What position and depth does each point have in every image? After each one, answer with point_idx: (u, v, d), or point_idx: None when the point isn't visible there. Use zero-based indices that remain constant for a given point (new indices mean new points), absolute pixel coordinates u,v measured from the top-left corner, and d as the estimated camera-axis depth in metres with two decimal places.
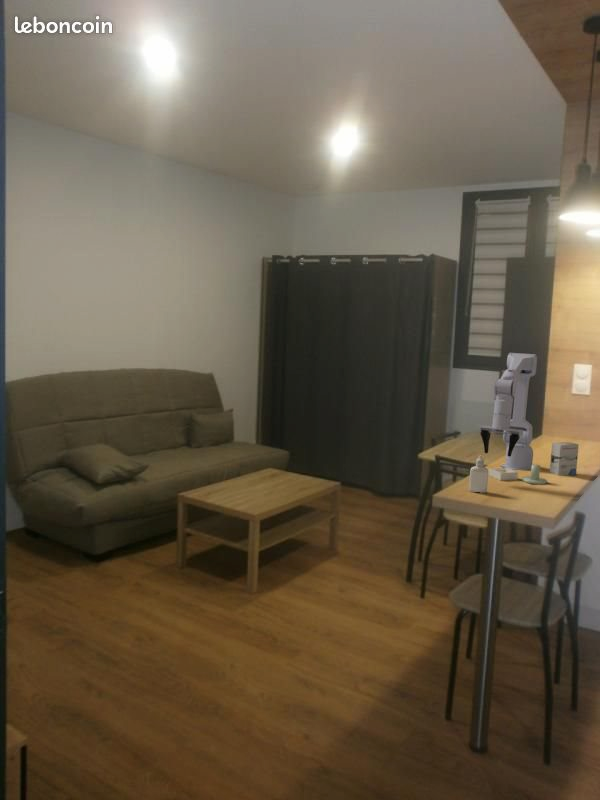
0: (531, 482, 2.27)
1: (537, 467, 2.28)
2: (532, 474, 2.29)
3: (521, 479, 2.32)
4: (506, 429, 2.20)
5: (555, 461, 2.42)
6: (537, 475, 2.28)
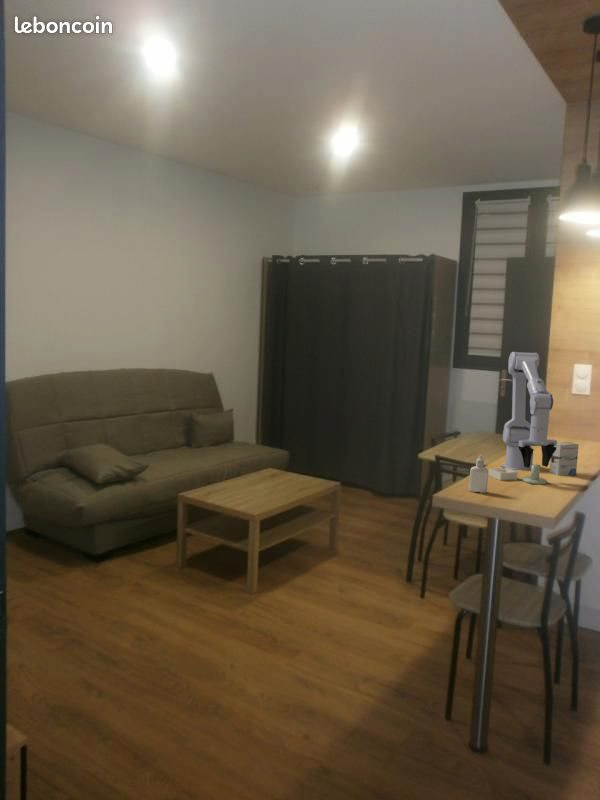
0: (531, 482, 2.27)
1: (537, 467, 2.28)
2: (532, 474, 2.29)
3: (521, 479, 2.32)
4: (548, 442, 2.27)
5: (555, 461, 2.42)
6: (537, 475, 2.28)
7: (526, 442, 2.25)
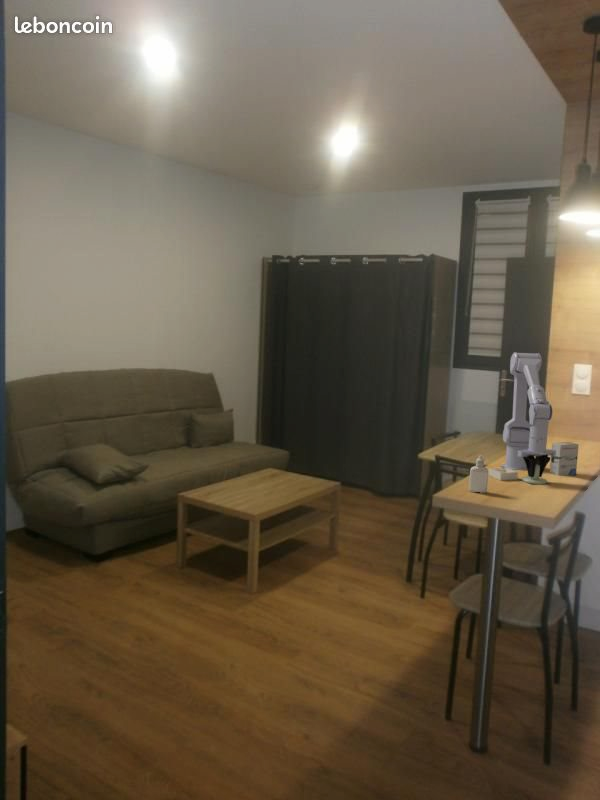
0: (531, 482, 2.27)
1: (537, 467, 2.28)
2: None
3: (521, 479, 2.32)
4: (547, 452, 2.27)
5: (555, 461, 2.42)
6: (537, 475, 2.28)
7: (525, 452, 2.26)
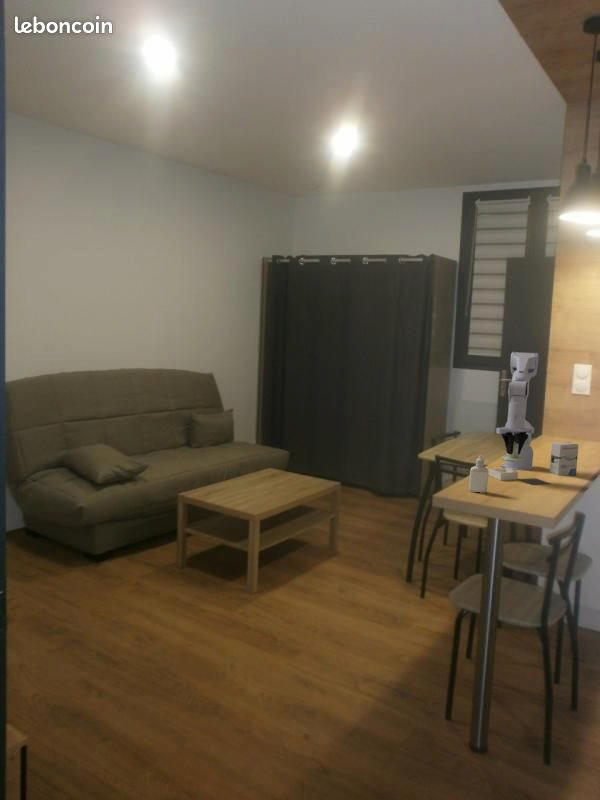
0: (510, 460, 2.28)
1: (516, 445, 2.30)
2: None
3: (521, 479, 2.32)
4: (525, 429, 2.29)
5: (555, 461, 2.42)
6: (516, 453, 2.30)
7: (503, 429, 2.27)
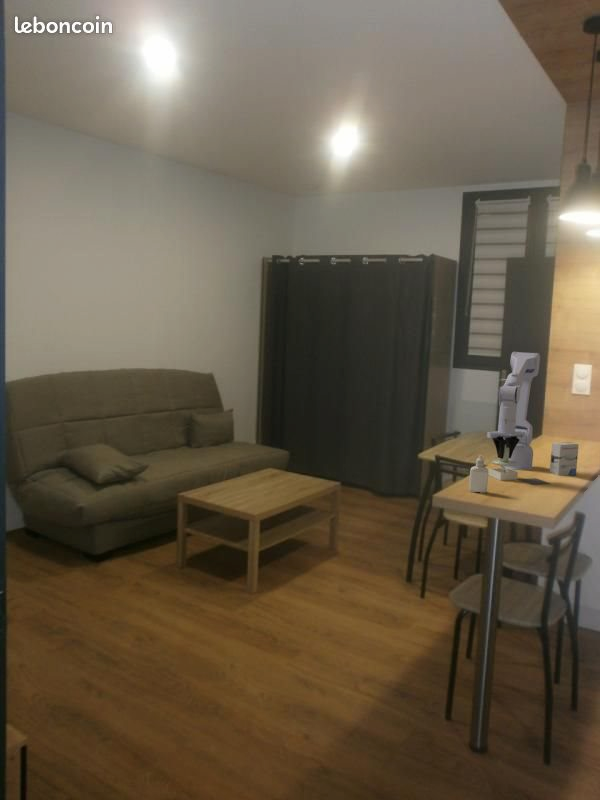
0: (501, 464, 2.29)
1: (507, 449, 2.31)
2: None
3: (521, 479, 2.32)
4: (516, 434, 2.30)
5: (555, 461, 2.42)
6: (506, 457, 2.31)
7: (494, 434, 2.29)
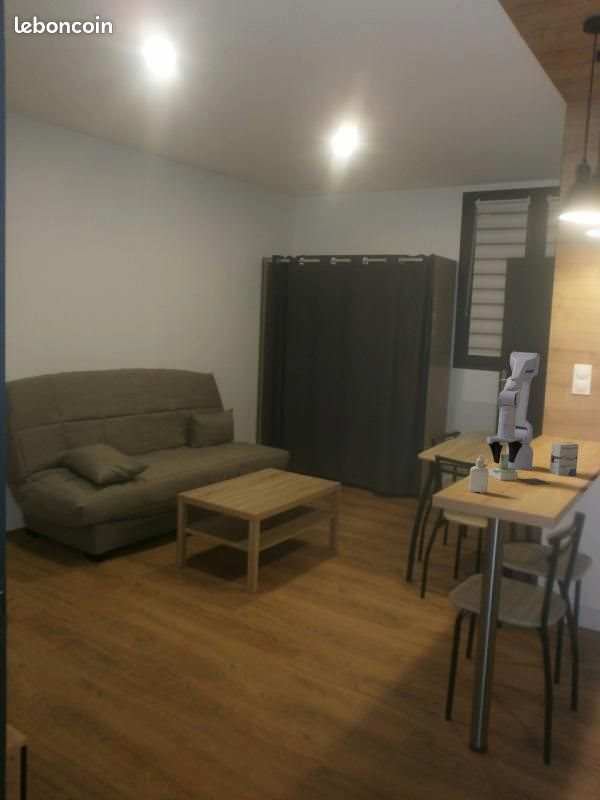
0: (501, 471, 2.30)
1: (506, 456, 2.31)
2: (501, 463, 2.32)
3: (521, 479, 2.32)
4: (515, 439, 2.31)
5: (555, 461, 2.42)
6: (506, 464, 2.32)
7: (494, 439, 2.29)
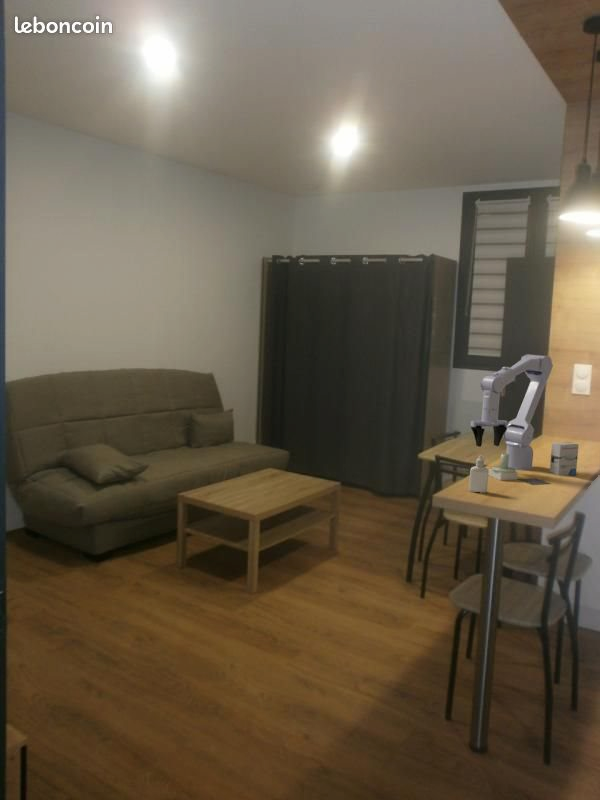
0: (501, 471, 2.30)
1: (506, 456, 2.31)
2: (501, 463, 2.32)
3: (521, 479, 2.32)
4: (498, 423, 2.39)
5: (555, 461, 2.42)
6: (506, 464, 2.32)
7: (477, 422, 2.37)
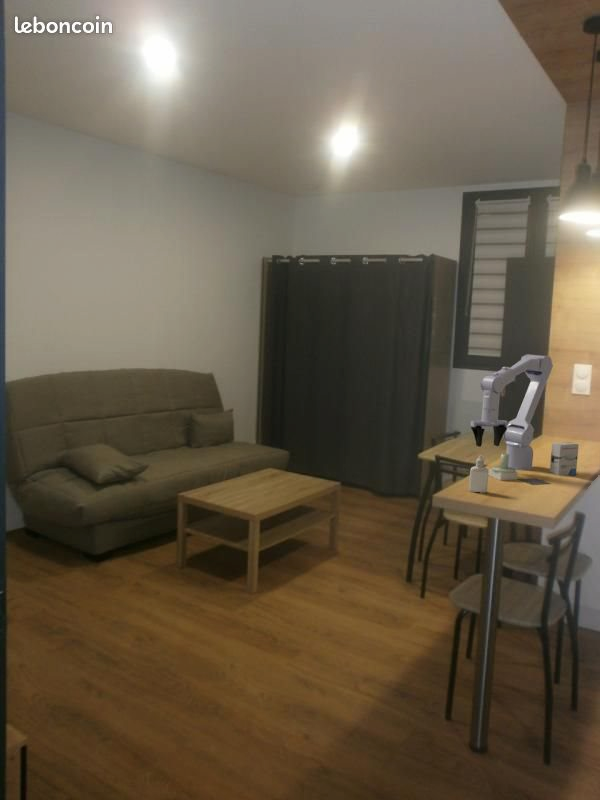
0: (501, 471, 2.30)
1: (506, 456, 2.31)
2: (501, 463, 2.32)
3: (521, 479, 2.32)
4: (498, 423, 2.39)
5: (555, 461, 2.42)
6: (506, 464, 2.32)
7: (477, 422, 2.37)
